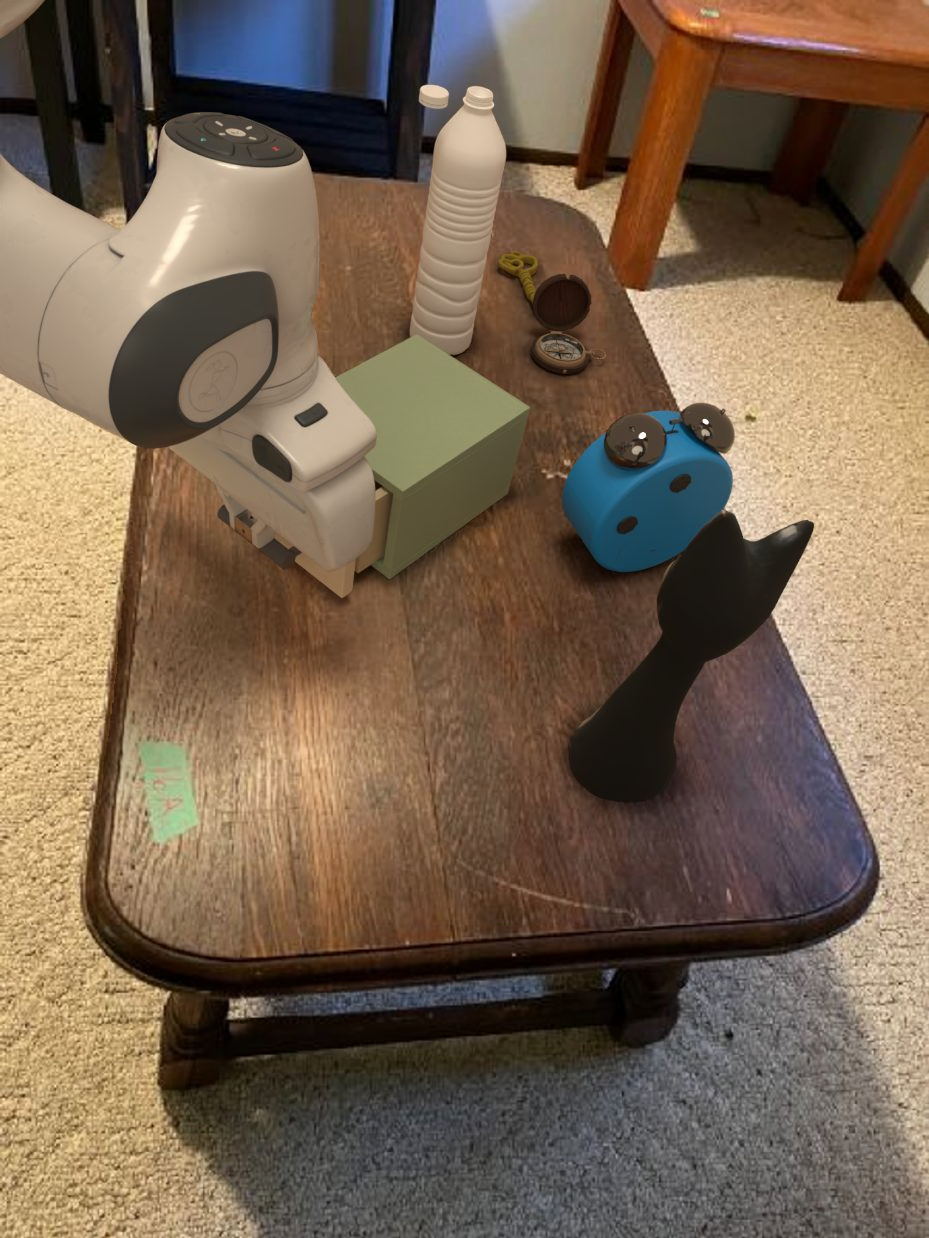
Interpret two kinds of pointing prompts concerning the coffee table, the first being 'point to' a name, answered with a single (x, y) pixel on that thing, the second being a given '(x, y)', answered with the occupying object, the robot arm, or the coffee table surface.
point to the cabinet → (434, 443)
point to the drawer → (334, 580)
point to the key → (520, 270)
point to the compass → (561, 323)
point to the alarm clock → (650, 485)
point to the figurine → (683, 652)
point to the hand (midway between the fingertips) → (252, 534)
